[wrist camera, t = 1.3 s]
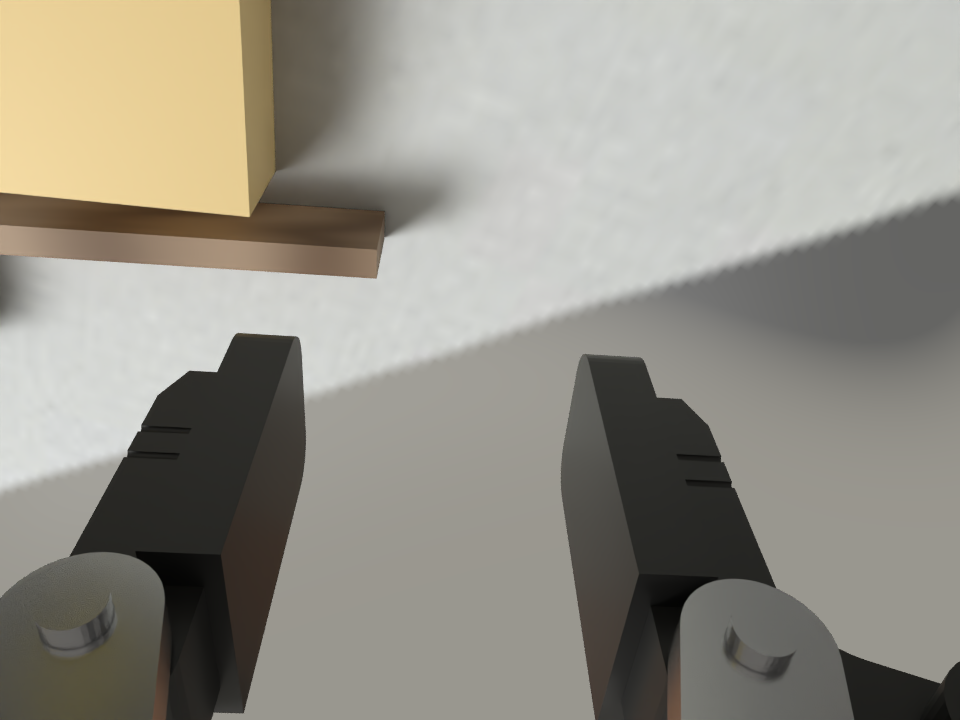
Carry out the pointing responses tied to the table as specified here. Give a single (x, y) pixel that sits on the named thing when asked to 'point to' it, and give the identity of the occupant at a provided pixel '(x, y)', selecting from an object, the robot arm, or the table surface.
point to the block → (138, 102)
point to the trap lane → (196, 236)
